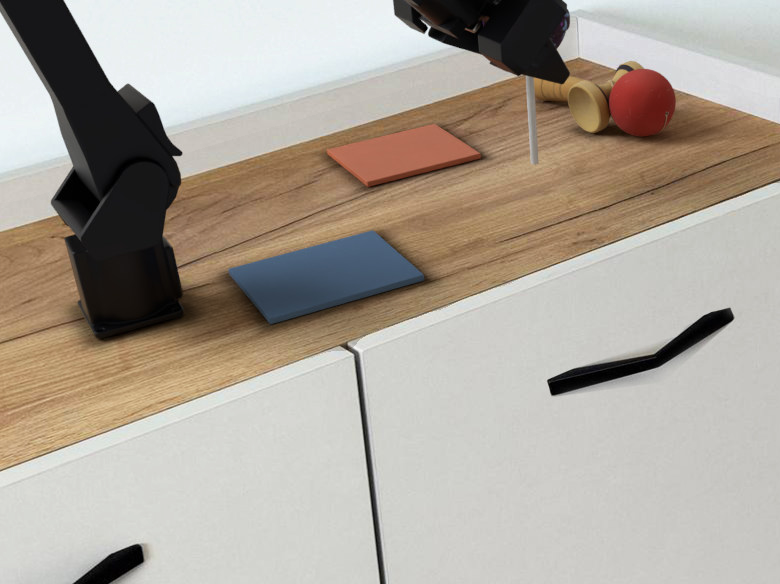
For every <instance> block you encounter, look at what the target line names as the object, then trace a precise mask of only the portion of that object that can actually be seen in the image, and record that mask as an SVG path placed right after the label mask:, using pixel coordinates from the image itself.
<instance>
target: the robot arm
mask: <svg viewBox="0 0 780 584" xmlns="http://www.w3.org/2000/svg"><path fill="white" fill-rule="evenodd" d="M392 4H393V14H394V16H395V17H396V18H398V19H399V20H400V21H402V23H403V24H405V25H406V26H407V27H408V28H410V29H412V30H414V31H417V32H418V33H420V34H423V35H425V34H426V32H427V35H428V37H429V38H431V39H432V40H435V41H438V42H440V43H442V44H445V45H448V46H450V47H455V48H458V49H460V50H464V51H468V52H471V53H474V54H477V55H481V56H482V57H484V58H485V59H486V60H488V61H489V63H488V64H489V65H491V66H493V67H496V68H497V69H499V70H502V71H504V72H506V73H510V74H512V75H514V76H516V77H520V76H525V77H526V76H530V77H534V78H538V79H542V80H546V81H550V82H554V83H558V84H564V83H565V82H566V80H567V79H568V77H569V76H571V72H570V69H569V68H568V66H567V65H566V63H565V60H564V59H563V57H562V56H561V54H560V52H559V50H558V48H557V49H556V47H555V45H554V43H553V42H552V40H551V38H550V37H551V35H552V34H553V32H554V31H555V29H556V28H557V26H558V25H559V23H560V22H561V20H562V19H563V17H564V16H565V15H566V13H567V9H568V3H567V2H565V1H564V0H392ZM0 14H1V16H2V18H3V20H4V21H5V23H6V24H7V26H8V28H9V30H10V31H11V33H12V34H13V37H14V38H15V39H16V42H17V43H18V45H19V46H20V48H21V50H22V51H23V53H24V55H25V57H26V58H27V59H28V61H29V63H30V64H31V65H30V66H32V68H33V70H34V71H35V73H36V75H37V76H38V78H39V80H40V82H41V83H42V85H43V86H44V89H45V90H46V91H47V93H48V95H49V98H50V100H51V102H52V105H53V109H54V113H55V116H56V120H57V124H58V127H59V131H60V134H61V135H60V136H61V138H62V140H63V142H64V145H65V148H66V151H67V153H68V155H69V159H70V161H71V164H72V167H71V168H70V170H69V172H68V173H67V175H66V176H65V178H64V180H63V181H62V182H61V184H60V186H59V187H58V188H57V191H56V192H55V193H54V195H53V196H52V198H51V199H50V205H51V207H52V208H53V210H54V211H55V212H56V214H57V215H58V216H59V218H60V219H61V221H62V222H63V223H64V224H65V225H66V227H69V229H70V230H71V231H72V232H73V234H72V235H68V236H65V237H64V238H63V240H64V244H65V247H66V251H67V255H68V258H69V263H70V266H71V271H72V274H73V277H74V279H75V280H74V281H75V285H76V289H77V292H78V296H79V300H77V305H78V309H79V311H80V313H81V315H82V317H83V318H84V320H85V323H86V324H87V326H88V328H89V329H90V331H91V333H92V336H93V338H95V339H99V340H100V339H104V338H108V337H111V336H115V335H120V334H122V333H126V332H129V331H134V330H136V329H141V328H145V327H148V326H152V325H155V324H158V323H162V322H166V321H169V320H173V319H176V318H180V317H182V316H184V315H185V314H186V313H185V307H184V306H183V305H182V303H181V302H180V299H182V298H183V297H184V291H183V286H182V283H181V282H182V281H181V278H180V273H179V269H178V264H177V260H176V255H175V250H174V247H173V246H172V245H171V243H170V242H169V241H168V239H167V237H165V236H164V231H165V230H164V228H165V223H166V216H167V210H168V209H169V208H171V206H172V204H173V203H174V201H175V200H176V198H177V196H178V192H179V189H180V186H181V185H182V174H181V171H180V168H179V166H178V162H177V161H176V159H175V158H174V157H182V156H183V154H184V153H183V151H182V150H181V149H180V148H178V147H177V146H176V145H175V144H174V143H173V142H172V140H171V139H170V138H169V137H168V135H167V132H166V131H165V128H164V125H163V121H162V118H161V115H160V113H159V111H158V109H157V106H156V104H155V103H154V102H153V101H152V100H150V99H149V98H148V97H147V96H145V95H144V93H142V92H140V91H139V90H138V89H136V88H135V87H134V86H133V85H132V84H130V83H126V84H125V85H124V86H122V87H121V88H120V89H119V90H117V89H116V88H115V86H114V85H113V84H112V83H111V81H110V80H109V78H108V76H107V74H106V73H105V71H104V69H103V67H102V65H101V64H100V62H99V60H98V59H97V57H96V54H95V53H94V51H93V49H92V48H91V46H90V44H89V43H88V41H87V39H86V37H85V35H84V34H83V32H82V29H81V28H80V26H79V24H78V23H77V21H76V19H75V18H74V15H73V14H72V12H71V10H70V9H69V7H68V5H67V3H66V1H65V0H0ZM483 21H484V22H486V24H485V25H484V27H483ZM429 27H430V28H429Z"/></svg>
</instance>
